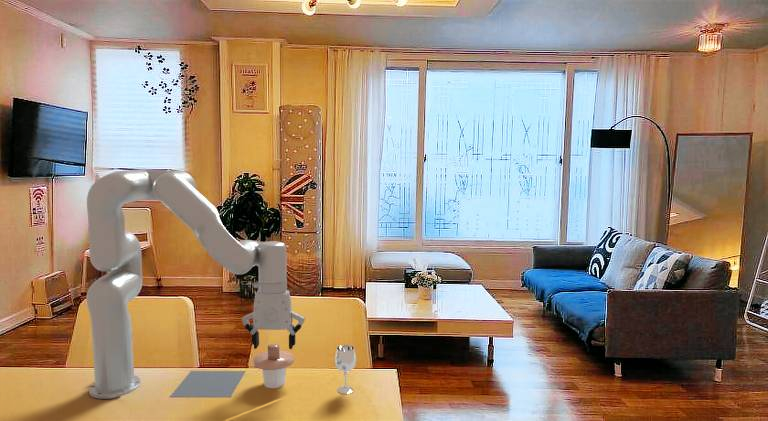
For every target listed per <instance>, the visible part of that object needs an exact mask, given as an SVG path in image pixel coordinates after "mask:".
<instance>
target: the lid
mask: <svg viewBox="0 0 768 421" xmlns="http://www.w3.org/2000/svg"><path fill="white" fill-rule="evenodd" d="M280 347H281V346H280V344H279V343H271V344H268V345H267V351H264V352H260V353H258V354H257V355H255V356H254V357H253V360H252V361H253V366H254V367H255V368H257V369H259V370H262V369H263V370H278V369H282V368H286V369H287V368H288V367H290V366H292V364H294V361H295V355H294V354H293V353H292V352H289V351H287V350H281V349H280ZM263 370H262V371H263Z"/></svg>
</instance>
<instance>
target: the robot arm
mask: <svg viewBox="0 0 768 421" xmlns="http://www.w3.org/2000/svg"><path fill="white" fill-rule="evenodd" d="M196 186H197V184H196V180H194V178H193V176H191V174H189V173H188V172H186V171H183V170H161V169H159V170H158V169H157V170H156V169H131V170H130V169H128V170H127V169H126V170H120V171H114V172H112V173H111V172H110V173H108V174H106V175H104V176H102V177H100V178H98V179H97V180H96V181H95V182H94V183H92V185H91V186H90V188H89V190H88V192H87V197H86V208H87V219H88V220H87V221H88V222H87V223H88V224H87V225H88V227H87V228H88V249H89V250H88V251H89V261H90V263H91V265H92V267H93V268H95V269H96V270H98V271H99V272H106V273H107V274H105V275H103V276H100V277H99V278H98V279H96V280H95V281H93V282H92V283H91V285H90V286H89V287H88V289H87V292H86V297H85V298H86V300H85V301H86V306H87V310H88V313H89V317H90V324H91V337H92V338H91V340H92V352H93V355H92V356H93V369H94V372H93V373H94V383H92V384H91V385H90V386H89V388H88V393H89V394H88V395H89V396H91V398H95V399H100V400H101V399H102V400H103V399H104V400H106V399H107V400H108V399H117V398H120V397H121V396H124V395H126V394H129V393H131V392H133V391H135V390H137V389H138V388H139V387H140V385H141V384H142V382H141V378H139V376H137V375H135V366H134V364H135V363H134V345H133V343H134V342H133V328H132V327H133V326H132V318H131V315H130V311H129V309H128V304H129V302H130V301H132V300H133V299H135V298H136V297H137V296H138V295H139V293H140V292H141V289H142V287H143V261H142V260H143V258H142V247H141V243H140V240H139V239H138V238H137V236H136V235H135V234H134V233H132V232H130V231H128V230H126V229H125V228H126V227H125V226H126V222H125V221H126V219H125V215H124V212H123V209H122V208H123V206H124V205H125V204H131V203H135V202H138V201H159V202H160V203H161V204H162V205H163V206H165V207H166V208H167V209H168V210H169V211H170V212H172V213H173V214H174V215H175V216H176V217H177V218H178V219H179V220H180V221H182V223H183V224H184V225H185V226H186V227H188V228H189V229H190V230H191V231H192V233H193V234H194V236H195V238H196V239H197V240H198V242H199V244H201V246H202V247H203V249H204V250H205V251H206V253H208V254H209V255H210V256H211V257H212V259H214V260H215V261H216V262H217V263H218V264H219V265H220V266H222V268H224V269H225V270H227V271H228V272H229V273H232V274H234V275H244V274H246V273H248V272H249V271H251V269H252V268H253V267H255V266H257V267H258V281H256V282H253V285H252V286H253V288H256V289H257V291H256V292H255V296H254V301H253V302H254V303H253V311H252V312H250V313H248V314H246V315H245V316H242V317H241V322H242V324H243V326H244V327H245V329H246V330H247V331H248V332H249V334H250V335H251V344H252V345H253V349H254V350H256V349H258V347H259V345H260V332H259V330H261V331H263V330H266V331H271V330H272V331H278V330H279V331H280V330H282V331H285V330H287V331H288V333H289V335H288V349H289V350H292V349H293V348H294V346H295V345H296V333H297V332H298V331H300V330H301V329H302V327H303V325H304V323H305V321H306V317H305V316H304V315H301V314H298V313H297V312H295V311H293V306H292V297H291V293H290V290H289V289H288V279H287V276H288V274H287V272H288V269H287V268H288V267H287V265H288V263H287V257H288V256H287V246H286V244H285V243H284V242H282V241H279V240H278V241H276V240H275V241H274V240H270V241H259V240H258V241H257V240H252V239H242V240H239V241H238V240H237V239H236V238H235V237H233V235H231V233H230V232H229V231H228V230H227V229H226V227H225V226H224V225H223V223H222V220H221V218H220V214H219V210H218V209H217V207H216V206H215V205H213V204H212V203H211V202H210V201H209V200H208V199H207V198H206V197H205V196H204V195H203V194H202V193H201V192H199V190H197V189H196V188H197V187H196ZM249 320H252V321H253V322H252V323H253V324H252V323H250V321H249ZM293 320H295V321H298V323H297V324H296V325H294V324H293Z"/></svg>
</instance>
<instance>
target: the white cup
mask: <svg viewBox="0 0 768 421" xmlns="http://www.w3.org/2000/svg"><path fill="white" fill-rule="evenodd" d="M261 370H262V376H263V377H262V378H263V384H264V385H263V386H264V387H265V388H268V389H279V388H281V387H283V386H284V385H285V384H286V376H287V375H286V374H287V373H286V372H287V367H286V368H282V369H278V370H263V369H261Z"/></svg>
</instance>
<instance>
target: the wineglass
mask: <svg viewBox="0 0 768 421" xmlns="http://www.w3.org/2000/svg"><path fill="white" fill-rule="evenodd" d="M355 351H356V350H355V347H354V346H353V345H349V344H342V345H338V346H337V347H336V351H335V355H334V364H335V367H336V368H337V370H339V371H342V372H343V377H344V385H343V386H340V387H337V392H338V393H340V394H343V395H345V394H346V395H347V394H351V393H353V392H354V391H355V390H354V387H352V386H350V385H347V378H348V372H350V371H351V370H353V369H355V366H356V365H357V364H356V363H357V356H356V352H355Z"/></svg>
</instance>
